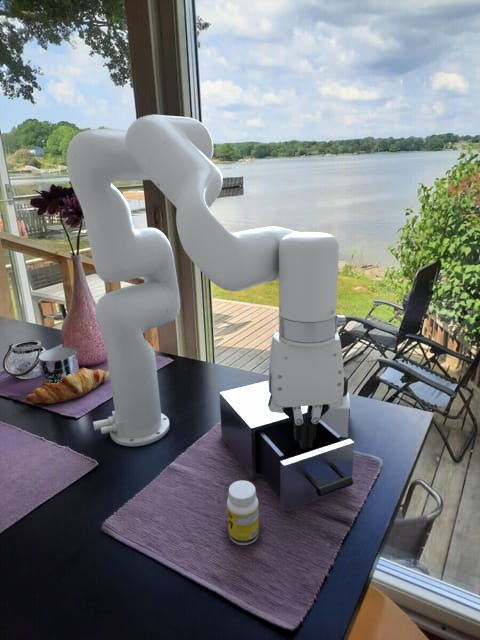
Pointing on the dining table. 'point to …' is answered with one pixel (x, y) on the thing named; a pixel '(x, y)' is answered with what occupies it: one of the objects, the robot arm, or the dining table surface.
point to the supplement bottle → (243, 513)
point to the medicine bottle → (340, 414)
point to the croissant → (68, 386)
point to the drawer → (303, 463)
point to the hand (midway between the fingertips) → (304, 442)
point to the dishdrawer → (247, 421)
